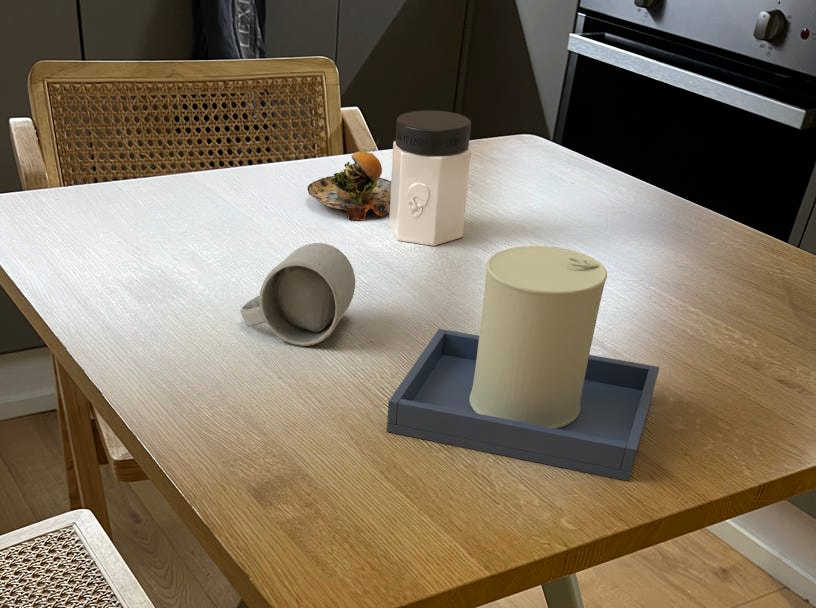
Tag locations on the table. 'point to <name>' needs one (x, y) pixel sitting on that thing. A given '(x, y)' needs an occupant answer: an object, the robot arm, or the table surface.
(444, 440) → the tray
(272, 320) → the ceramic mug
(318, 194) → the burger
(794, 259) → the table surface
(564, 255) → the can
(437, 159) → the jar
